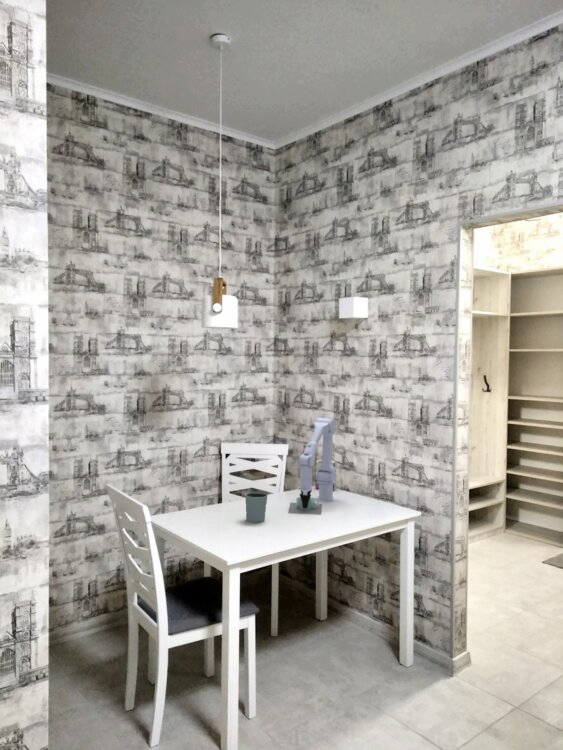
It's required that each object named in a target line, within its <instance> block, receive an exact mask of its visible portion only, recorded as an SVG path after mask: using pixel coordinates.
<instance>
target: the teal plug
mask: <svg viewBox="0 0 563 750" xmlns="http://www.w3.org/2000/svg"><path fill="white" fill-rule="evenodd" d="M295 503H296V508H297V509H306V510H313V509H314V507H315V505H316V506H319V504H320V501H317V502H316V500H315V497H310V499H309V502H308V507H307V508H303V506H302V500H301V497H300V496H298V497H296V502H295Z"/></svg>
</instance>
